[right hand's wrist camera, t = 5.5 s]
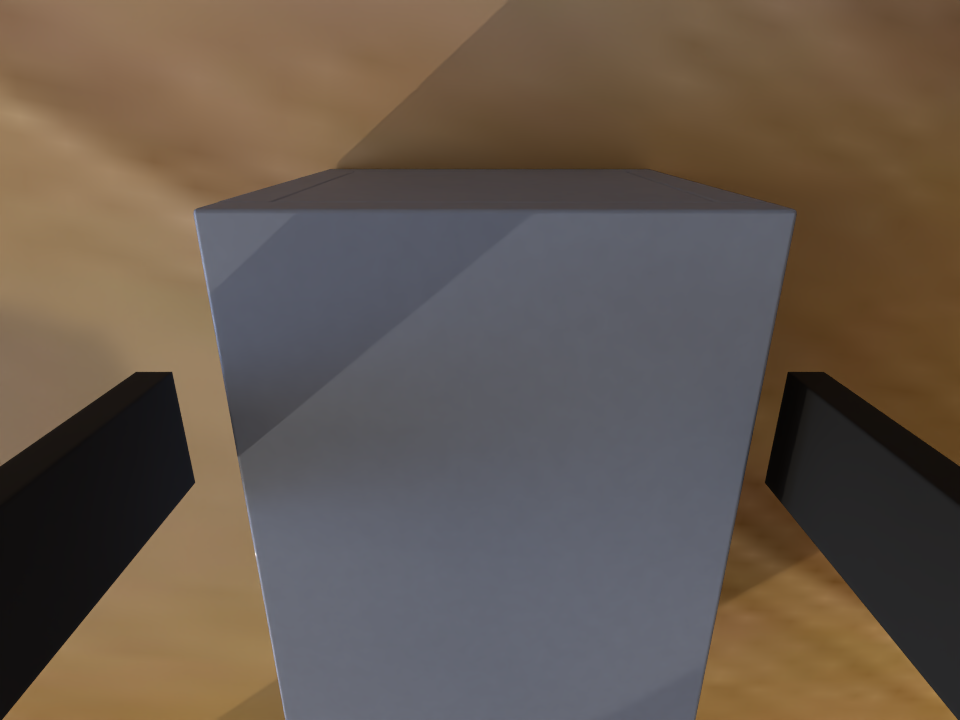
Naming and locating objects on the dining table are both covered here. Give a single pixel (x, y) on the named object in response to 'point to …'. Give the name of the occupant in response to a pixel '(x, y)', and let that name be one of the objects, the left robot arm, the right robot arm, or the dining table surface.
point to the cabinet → (492, 431)
